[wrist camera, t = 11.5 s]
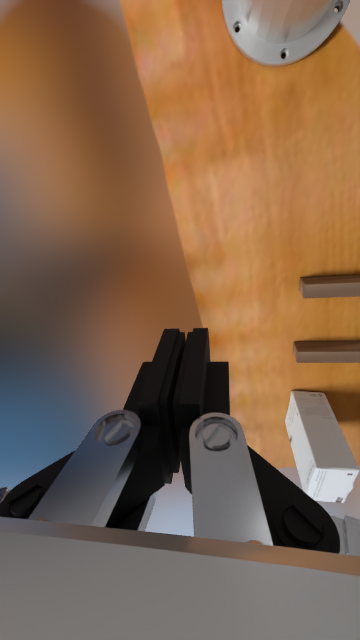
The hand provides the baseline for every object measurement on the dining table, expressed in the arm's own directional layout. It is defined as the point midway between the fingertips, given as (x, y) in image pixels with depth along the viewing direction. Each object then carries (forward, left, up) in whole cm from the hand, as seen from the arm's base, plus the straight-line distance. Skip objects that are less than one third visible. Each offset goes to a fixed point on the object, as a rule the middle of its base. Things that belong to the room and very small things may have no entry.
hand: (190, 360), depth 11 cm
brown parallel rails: (+15, +18, -32) cm, 40 cm away
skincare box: (+34, +15, -32) cm, 49 cm away
